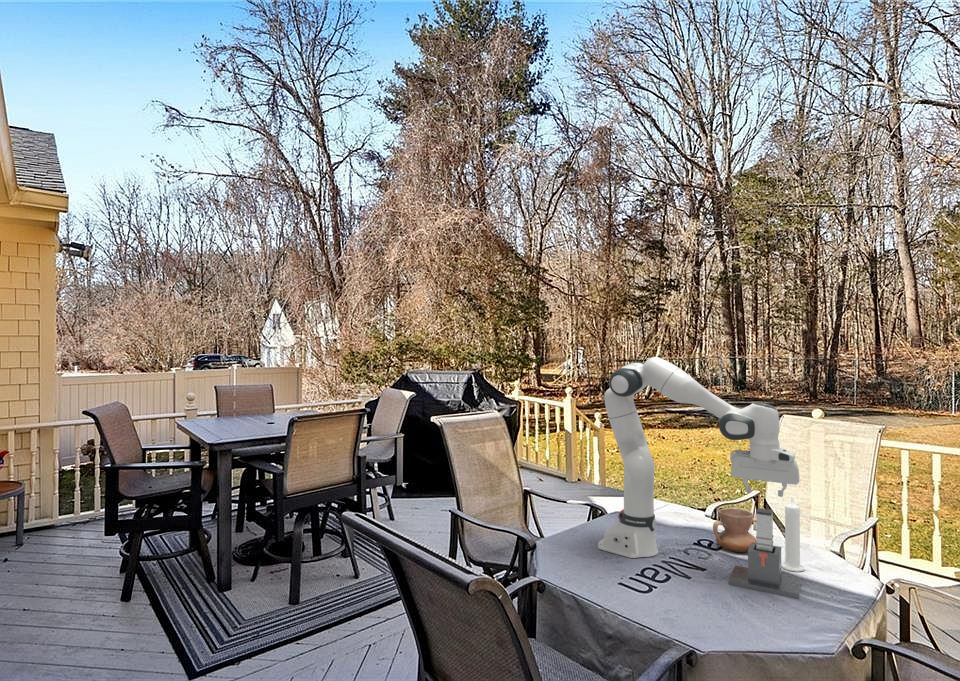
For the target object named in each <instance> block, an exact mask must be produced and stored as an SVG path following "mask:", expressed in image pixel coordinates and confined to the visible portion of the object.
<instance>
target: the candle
mask: <svg viewBox="0 0 960 681" xmlns="http://www.w3.org/2000/svg"><path fill="white" fill-rule="evenodd" d="M794 500H795V499H794V496H791V497H790V501H789V502H788V503H787V504H785V505H784V528H785V529H784V533H785V534H784V538H785V540H784V541H785V542H784V544H785V545H784V546H785V548H784V551H785V554H784V556H785V557H784V559H785V562H781V569H783V568H784V570H785V569H786V570H785V571H788V570H789V572H792V571H795V572H794V573H801V572H804V571H805V567H804V565H802V564H801V540H800V539H801V537H800V536H801V528H800V527H801V523H800V521H801V520H800V518H801V517H800V515H801V514H800V511H801V510H800V506H799V505H798V504H797V503H796V502H795V501H794Z"/></svg>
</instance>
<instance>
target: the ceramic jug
mask: <svg viewBox="0 0 960 681" xmlns="http://www.w3.org/2000/svg"><path fill="white" fill-rule="evenodd" d="M718 516H719V520H716V521H714V522H713V524H712V530H713V531H712V532H713V534H714V535H715V538H716V543H717V544H718V545H719V547H721V548H723V549H725V550H728V551H730V552H733V553H734V552H736V553H748V549H749V547H750V544H751V542H755V543H756V541H757V538H756V536H754V535H753V534H752V533H750V532H749V531H750V528H751V526H752V524H753V522H754V523H756V517H754V513H753V512H752V511H750V510H748V509H745V508H738V507H736V508H735V507H728V508H721V509H719V510H718ZM720 525H721V526H722V527H723V529H724V530H722V531H721V532H719V531H718V530H719V529H718V528H719V526H720Z"/></svg>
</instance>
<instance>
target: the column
mask: <svg viewBox="0 0 960 681" xmlns="http://www.w3.org/2000/svg"><path fill="white" fill-rule="evenodd" d="M755 512H756V516H755V518H756V522H755V523H756V528H755V529H756V533H755V534H756V535H755V538H756V540H757V541H756V544H757V547H756V550H758V551H764V552H770V553H773V549H774V547H773V546H774V540H773V539H774V531H773V529H774V528H773V527H774V526H773V525H774V524H773V523H774V520H773V518H774V517H773V516H774V515H773V514H774V513H773V512H774V511H773V509H767V508H760V507H759V508H758V507H757V509H756V511H755Z"/></svg>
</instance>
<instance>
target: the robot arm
mask: <svg viewBox="0 0 960 681" xmlns="http://www.w3.org/2000/svg"><path fill="white" fill-rule="evenodd" d="M608 386H609V388H608V389H606V391H605V392H604V395H603V397H604V398H603V399H604V405H605V410H606V414H607V418H608V420H609V423H610V427H611V430H612V433H613V435H614V439H615V442H616V444H617V447H618V451H619V452H620V456H621V459H622V463H623V508H622V509H621V510H620V512H619V513H618V515H617V519H618V521H617V522H615V523H613V524H612V525H610V526H609V527H607V529H606V530H605V532H604V535H603V538H602V539H600V540H599V542H598V543H597V548H598V549H599V550H602V551H605V552H609V553H611V554H615V555H619V556H622V557H626V558H630V559H638V558H648V557H650V558H651V557H654V556H656V555H658V554H659V553H660V552H659V549H658V545H657V540H656V532H655V530H656V516H655V513H654V512H655V511H654V507H655V505H654V503H655V502H654V501H655V500H654V497H655V496H654V491H655V472H656V471H655V466H656V465H655V463H654V459H653V456H652V453H651V450H650V447H649V444H648V441H647V437H646V435H645V432H644V429H643V425H642V422H641V419H640V416H639V413H638V409H637V408H636V404H635V401H634V397H635V394H637V393H640V392H641V391H643V390H644V389H646V388H648V387H651V388H653V389H655V390H656V391H658V392H659V393H660V394H662V395H664V396H665V397H666V398H668V399H670V400H672V401H674V402H677V403H679V404H689V405H690V404H691V405H694V406H698V407H700V408H702V409H703V410H706V411H707V412H708V413H711V414H712V415H713V416H715V417H717V418H718V419H719V422H718V429H719V432H720V433H721V435H722V436H723V437H725V438H726V439H728V440H730V441H742V440H748V441H749V450H745V449H743V450H742V449H735V450H733V451H731V452H730V454H729V455H730V461H731V468H730V475H731V476H732V477H733V478H734V479H735V478H736V479H742V480H741V481H742V484H743V485H744V487H745V493H750V494H751V493H752V486H749V484H748V481H749V480H750V481H751V480H752V481H761V482H770V483H778V484H779V483H780V484H781V489H778V490H777V497H780V498H784V491H785V490H786V488H787V487H788V485H795V486H797V485H798V484H799V483H800V480H801V479H800V471H799V470H800V469H799V465H798V462H797V461H795V459H796V455H795V453H794V452H792V451H790V450H788V449H784V448H782V447H780V446H781V445H780V440H779V434H780V430H781V429H780V428H781V426H780V416H779V411H778V409H777V408H776V406H774V405H772V404H769V403H765V402H758V401H757V402H756V401H755V402H752V403H751V404H749V405H748V406H745V407H739V406H736V405H733V404H731V403H729V402H727V401H726V400H724V399H722V398H721V397H719V396H718V395H716V394H714V393H713V392H711V391H710V390H708V389H707V388H705V387H704V386H703V385H702V384H700V383H699V382H698V381H697V380H696V379H694V377H692V376H691V375H689V374H688V372H685V371H684V370H683V369H681V368H680V367H678V366H676V365H675V364H673V363H671V362H670V361H668V360H665V359H663V358H661V357H658V356H651V357H650V358H648V359H647V360H646V361H645V362H643V361H633V362H631V363H627V364H624V365H623V366H622V367H619V368H618V369H616V370H615V371H614V372H612V374H610V377H609V379H608Z"/></svg>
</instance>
